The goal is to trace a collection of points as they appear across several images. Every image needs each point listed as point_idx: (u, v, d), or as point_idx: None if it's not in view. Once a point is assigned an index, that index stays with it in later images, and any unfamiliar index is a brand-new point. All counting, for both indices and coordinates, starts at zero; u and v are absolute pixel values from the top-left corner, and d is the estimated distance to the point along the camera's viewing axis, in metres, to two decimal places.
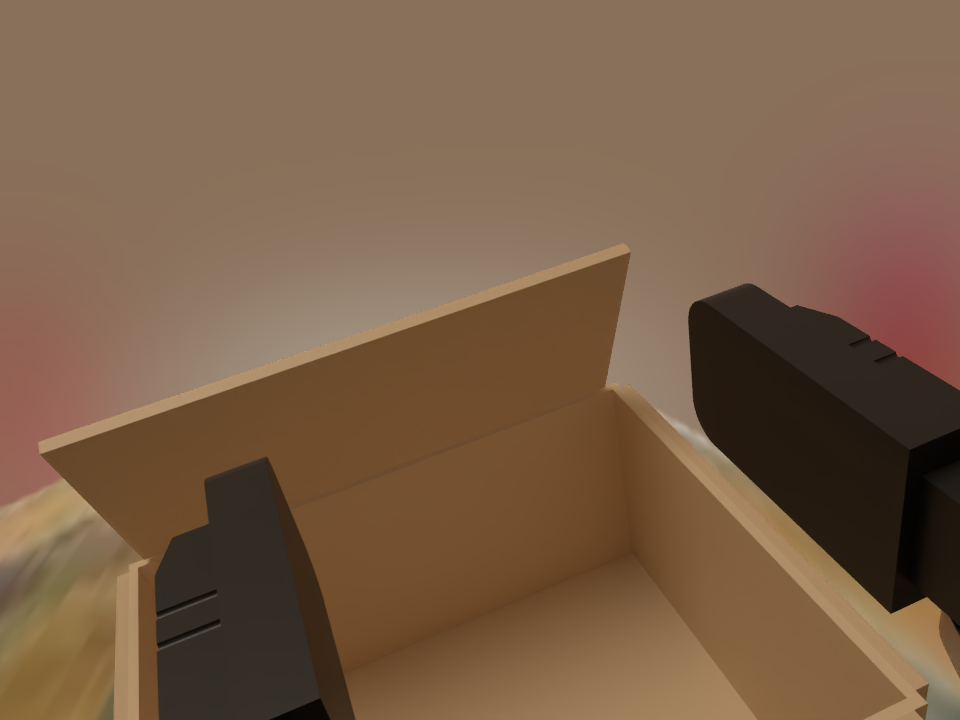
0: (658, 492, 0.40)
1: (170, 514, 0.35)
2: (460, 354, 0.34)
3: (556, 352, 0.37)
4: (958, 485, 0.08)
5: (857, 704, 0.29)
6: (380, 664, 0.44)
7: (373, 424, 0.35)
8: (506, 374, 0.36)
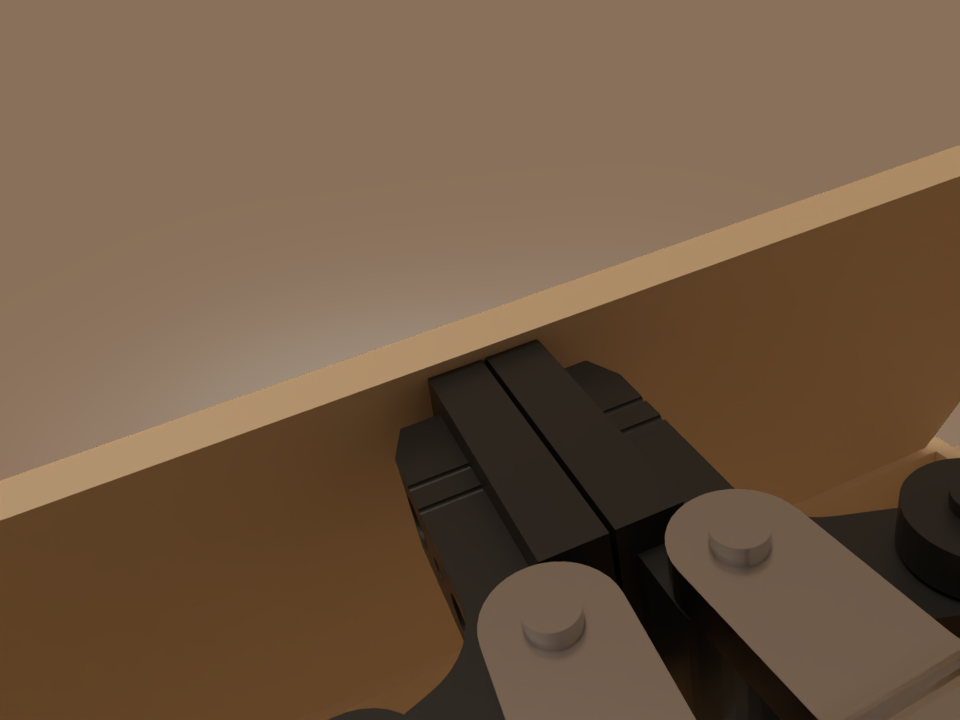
0: None
1: None
2: (717, 379, 0.13)
3: (896, 373, 0.16)
4: None
5: None
6: None
7: None
8: (785, 426, 0.16)
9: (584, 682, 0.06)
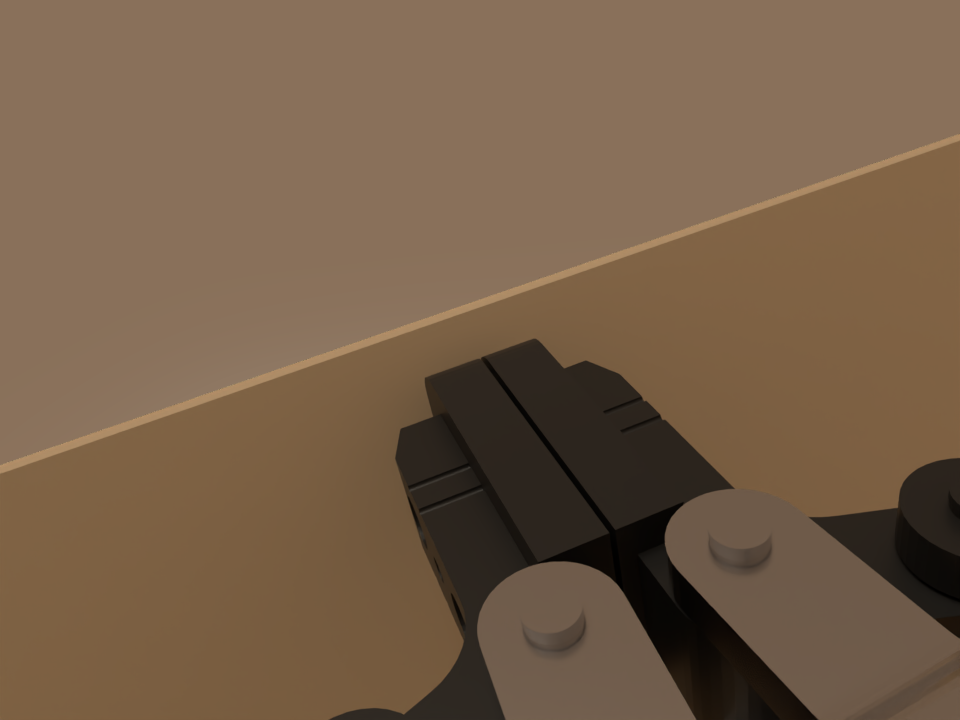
0: None
1: None
2: (760, 418, 0.12)
3: None
4: None
5: None
6: None
7: None
8: None
9: (584, 683, 0.06)
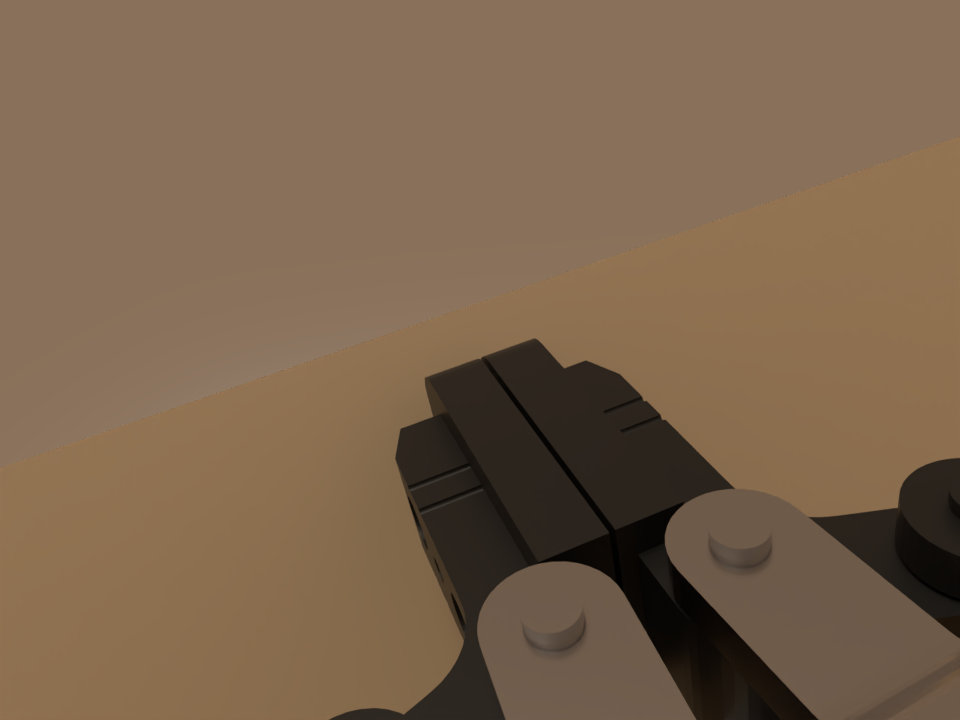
0: None
1: None
2: (769, 418, 0.12)
3: None
4: None
5: None
6: None
7: None
8: None
9: (584, 682, 0.06)
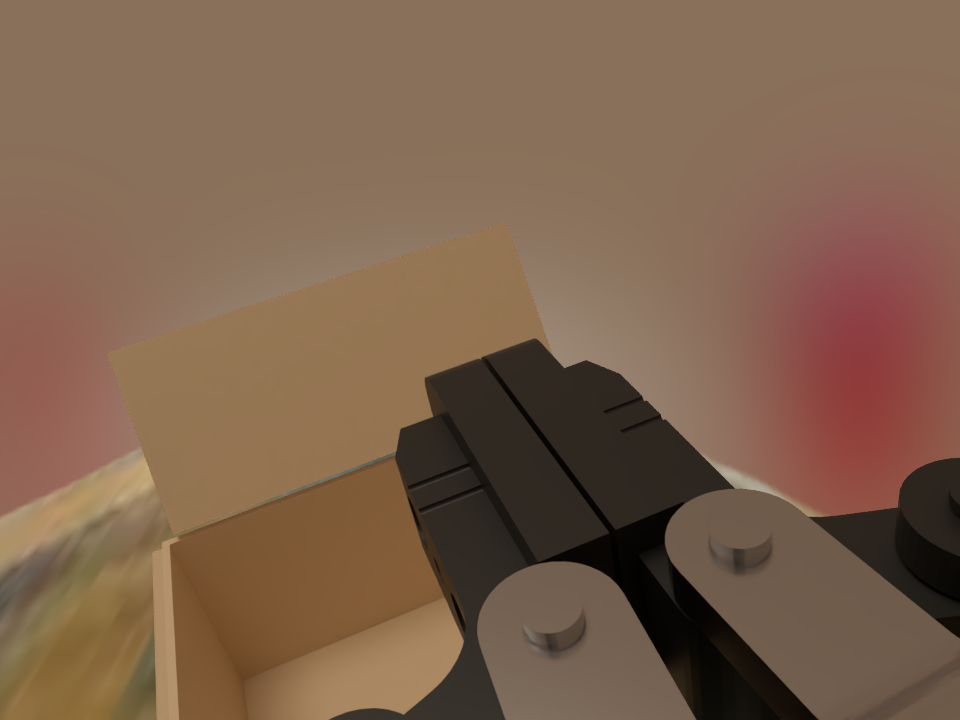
0: None
1: (194, 465, 0.44)
2: (402, 311, 0.46)
3: (490, 327, 0.47)
4: None
5: None
6: (374, 631, 0.51)
7: (349, 385, 0.46)
8: (453, 345, 0.47)
9: (584, 683, 0.06)
